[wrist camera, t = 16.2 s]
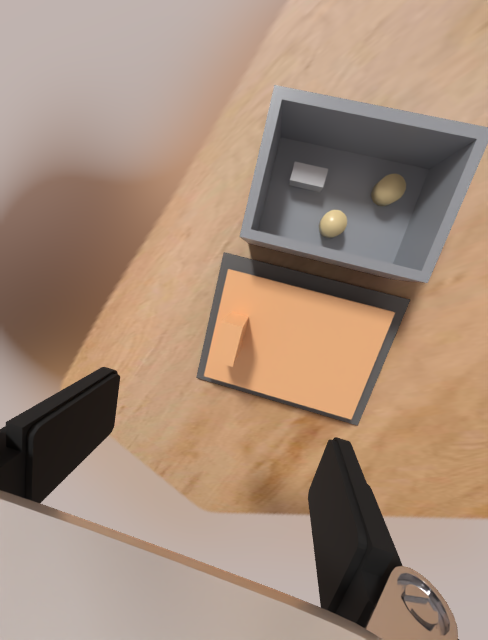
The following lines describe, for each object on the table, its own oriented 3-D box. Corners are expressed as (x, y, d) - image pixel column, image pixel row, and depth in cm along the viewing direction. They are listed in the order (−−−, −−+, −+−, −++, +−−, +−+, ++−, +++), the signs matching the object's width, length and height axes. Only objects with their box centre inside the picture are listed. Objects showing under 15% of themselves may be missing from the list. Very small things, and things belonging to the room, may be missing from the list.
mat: (408, 299, 33) (410, 299, 32) (356, 423, 38) (357, 425, 37) (224, 252, 35) (223, 252, 34) (197, 376, 40) (196, 377, 39)
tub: (436, 165, 29) (493, 128, 22) (391, 279, 33) (427, 283, 25) (275, 130, 31) (274, 85, 23) (248, 243, 34) (239, 236, 26)
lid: (386, 309, 33) (422, 323, 25) (346, 409, 37) (366, 450, 29) (231, 268, 35) (217, 269, 26) (208, 369, 38) (189, 397, 30)
